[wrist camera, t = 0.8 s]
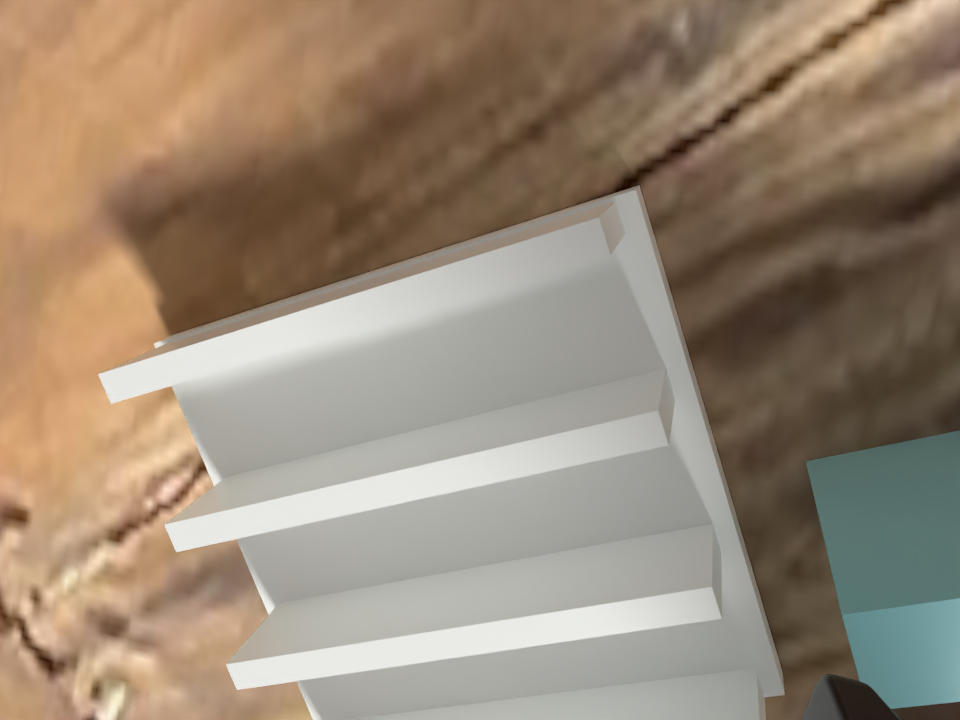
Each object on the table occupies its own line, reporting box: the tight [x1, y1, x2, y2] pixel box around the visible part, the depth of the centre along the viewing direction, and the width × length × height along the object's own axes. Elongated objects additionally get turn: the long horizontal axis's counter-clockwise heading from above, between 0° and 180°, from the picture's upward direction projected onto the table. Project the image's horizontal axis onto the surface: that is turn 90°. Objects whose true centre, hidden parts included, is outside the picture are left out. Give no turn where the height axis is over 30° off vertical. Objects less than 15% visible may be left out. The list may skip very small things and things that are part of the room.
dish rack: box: [98, 185, 785, 720], centre depth 23 cm, size 14×14×4 cm
